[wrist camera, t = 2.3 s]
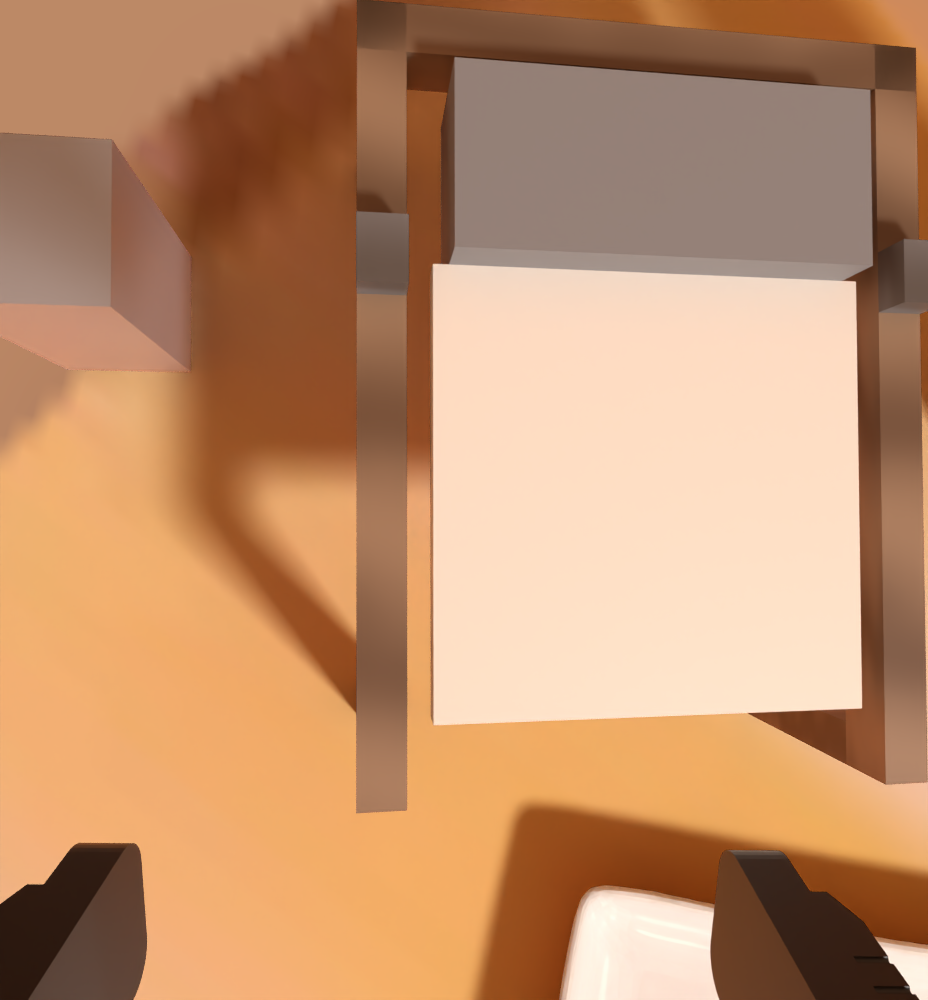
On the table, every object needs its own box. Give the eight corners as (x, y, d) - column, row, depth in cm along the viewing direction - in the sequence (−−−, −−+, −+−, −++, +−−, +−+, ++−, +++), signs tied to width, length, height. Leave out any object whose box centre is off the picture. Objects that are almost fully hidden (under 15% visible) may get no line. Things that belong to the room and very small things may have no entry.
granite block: (191, 256, 32) (112, 139, 22) (190, 372, 32) (110, 307, 22) (68, 251, 31) (-71, 128, 21) (67, 369, 31) (-74, 300, 21)
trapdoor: (426, 128, 25) (437, 55, 21) (809, 153, 27) (884, 91, 23) (426, 704, 25) (438, 740, 21) (815, 690, 27) (894, 720, 23)
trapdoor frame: (360, 162, 33) (356, -30, 21) (753, 186, 35) (943, 24, 24) (359, 717, 32) (355, 830, 21) (759, 702, 35) (956, 795, 23)
